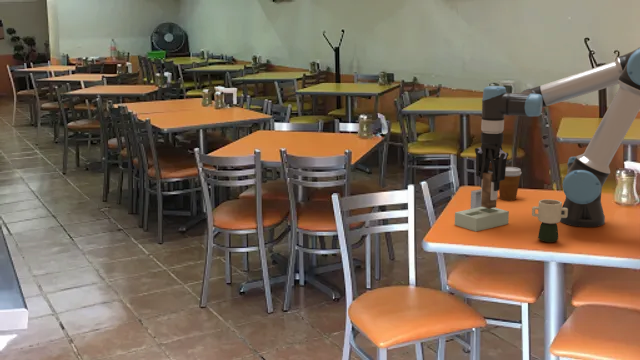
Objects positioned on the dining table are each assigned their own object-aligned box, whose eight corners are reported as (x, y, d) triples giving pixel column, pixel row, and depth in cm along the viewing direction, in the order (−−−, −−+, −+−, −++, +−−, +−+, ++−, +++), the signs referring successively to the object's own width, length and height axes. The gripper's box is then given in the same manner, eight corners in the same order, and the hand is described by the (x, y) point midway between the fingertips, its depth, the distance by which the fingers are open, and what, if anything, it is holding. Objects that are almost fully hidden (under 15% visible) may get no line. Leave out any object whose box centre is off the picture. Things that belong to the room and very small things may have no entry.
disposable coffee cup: (491, 199, 289) (493, 169, 286) (500, 194, 297) (502, 165, 294) (515, 202, 284) (516, 172, 281) (523, 197, 291) (525, 168, 289)
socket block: (508, 223, 255) (508, 211, 254) (475, 231, 246) (476, 218, 245) (486, 217, 263) (487, 205, 262) (454, 224, 254) (455, 212, 253)
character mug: (564, 238, 237) (567, 199, 234) (566, 245, 230) (569, 205, 228) (529, 236, 240) (532, 198, 237) (530, 243, 233) (533, 203, 230)
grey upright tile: (486, 213, 268) (487, 189, 266) (475, 216, 265) (476, 192, 263) (481, 212, 270) (482, 188, 268) (470, 214, 267) (471, 190, 265)
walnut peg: (496, 207, 255) (497, 173, 252) (489, 208, 253) (490, 174, 250) (488, 205, 257) (490, 171, 255) (481, 206, 255) (482, 173, 253)
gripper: (518, 133, 245) (515, 201, 250) (481, 127, 258) (479, 192, 263) (503, 136, 240) (499, 204, 246) (466, 129, 254) (464, 195, 259)
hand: (489, 198), depth 254 cm, fingers closed on walnut peg, 4 cm apart
